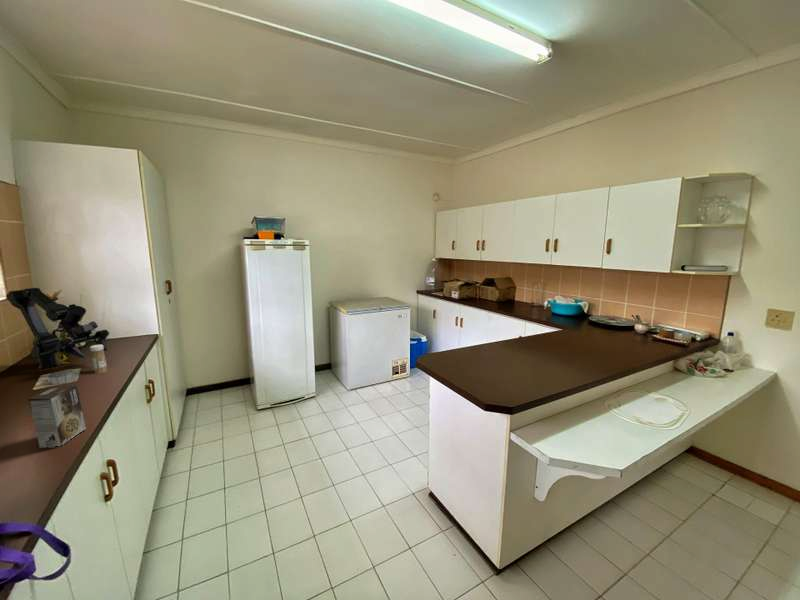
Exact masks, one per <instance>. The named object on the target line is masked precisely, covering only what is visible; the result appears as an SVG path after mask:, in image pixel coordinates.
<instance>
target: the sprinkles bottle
mask: <svg viewBox="0 0 800 600" xmlns="http://www.w3.org/2000/svg"><path fill="white" fill-rule="evenodd" d="M89 351H90V353H91V360H92V365H93V370H94V374H102V373H106V372H107V371H108V367H107V360H106V357H105V351H104V347H103V345H97V344H93V345H91V346H90V347H89Z"/></svg>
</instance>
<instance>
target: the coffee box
mask: <svg viewBox="0 0 800 600" xmlns="http://www.w3.org/2000/svg"><path fill="white" fill-rule="evenodd" d="M80 399H81V398H80V394H79V390H78V385H77V384H71V385H70V384H60V385H55V386H51V387H50V388H48V389H46V390H44V391H42V392H40V393H38V394H35V395H34V396H32V397H30V398H28V404H29V408H30V412H31V415H32V421H33V424H34V429H35V433H36V436H37V437H36V438H37V442H38V446H39V447H38V448H40V449H44V448H45V449H47V447H48V448H56V447H55V446H61V445H63V444H64V443H66V442H67V441H69V440H70V439H71V438H73V437H74V436H75V435H77V434H79V433H80V432H82V431H83V430H85V429H86V430H87V427H86V426H87V425H86V423H85V422H86V420H85V417H84V413H83V409H82V404H81V400H80ZM86 430H85V431H86ZM82 433H83V432H82ZM79 435H80V434H79ZM69 442H70V441H69ZM66 444H67V443H66ZM63 446H64V445H63Z"/></svg>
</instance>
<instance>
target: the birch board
mask: <svg viewBox="0 0 800 600" xmlns="http://www.w3.org/2000/svg"><path fill="white" fill-rule="evenodd" d="M75 370H77V372H78V378H77V379H75V380H73V381H70V382H67V383H62V384H54V385H51V384H49V383H48V378H47V376H48V375H50V374H51V373H48V374H42V375H40V376H39V378H38V380H37V382H36V383H35V385H34V387H33V388H32V390H39V389H43V388H44V389H45V388H48V387H50V388H51V387H54V386H56V385H66V384H68V383H74V382H78V380H79V376H80V373H81V370H82V368H75Z"/></svg>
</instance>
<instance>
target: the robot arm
mask: <svg viewBox="0 0 800 600" xmlns="http://www.w3.org/2000/svg"><path fill="white" fill-rule="evenodd" d="M5 297H6V299H7V301H8V302H9V303H10V304H11V306H13V308H14V307H15V308H16V309H18V310H19V311H20V312H21V314H22V316H23V317H24V320H25V321H26V323H27V326H28V327H29V329H30V331H31V332H32V334H33V336H34V338H33V341H32V344H33V345H32V346H33V347H32V349H31V351H30V355H31V357H32V358H38V362H39V367H38V368H37V369H38V370H42V369H48V368H54V367H58V366H59V364H60V362H59V363H57V362H58V359H57V355H56V353H63V354H65V353H66V354H69V355H73V356H76V357H78V358H81V359H84V358H85V355H84V354H83V353H82V351H81V350H80V349H79V347H77V344H82V343H86V342H89V341H94V342H95V345H103V347H104V352H107V351H108V347H107V343H106V339H107V337H108V336H109V335H110V331H108V330H107V329H101V330H97V331H95V330H96V329H97V328H99V325H98V324H97V322H95V321H90V322H88V323H87V324H86V323H85V324H82V325H81V324H80V322H81V321H82V320H83V317H85V314H86V313H87V310H86V308H85V307H83V306H80V305H76V304H75V303H73V304H69V305H67V306H66V305H65V304H61V303H57V302H56V301H54V300H53V299H52V298H51V297H49V296H48V295H46V294H45V293H44V292H42V290H41V288H39V287H29V288H28V287H27V288H24V289H18V290H10V291H8V293H7V294H6V296H5ZM35 304H36V305H37V306H38V307H40V309H42V310H43V311H45V316H46V317H47V318H48V319H49V320H50V321H51V322H58V321H59V322H58V326H57V328H58V330H61V329H62V330H63V331H64V332H65V333H66V338H65V339H61V340H60V339H59V337H58V335H57V334H56V333H50V332H49V331H48V328H47V327H46V324H45V323H44V321H43V319H42V317H41V315H40V314H39V312H38V310H37V308H36V306H35ZM93 331H95V332H94V334H93V335H92V332H93Z"/></svg>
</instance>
